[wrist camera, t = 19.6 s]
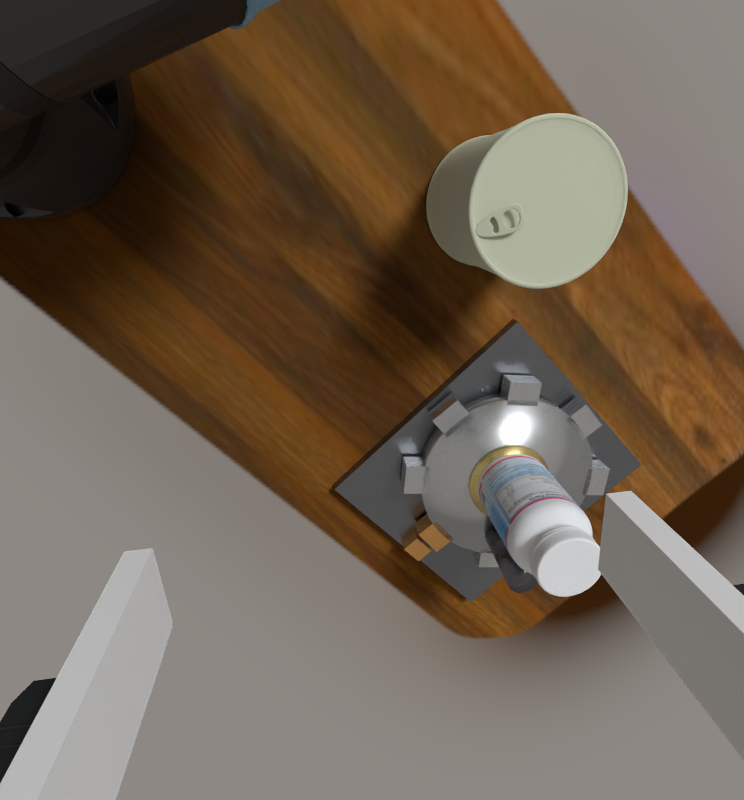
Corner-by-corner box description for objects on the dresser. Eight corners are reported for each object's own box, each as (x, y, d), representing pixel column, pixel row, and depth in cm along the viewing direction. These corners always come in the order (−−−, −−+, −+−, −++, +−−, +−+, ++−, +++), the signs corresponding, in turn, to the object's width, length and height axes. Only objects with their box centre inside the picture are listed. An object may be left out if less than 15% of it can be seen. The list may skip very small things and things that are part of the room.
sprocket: (393, 555, 49) (406, 617, 42) (411, 371, 42) (431, 407, 35) (575, 554, 51) (618, 613, 44) (619, 378, 45) (678, 414, 37)
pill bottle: (532, 517, 46) (596, 610, 36) (467, 507, 45) (513, 601, 35) (555, 456, 44) (630, 536, 34) (488, 444, 43) (544, 524, 33)
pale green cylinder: (410, 161, 38) (449, 147, 27) (530, 116, 38) (621, 82, 27) (444, 282, 41) (492, 314, 30) (555, 242, 41) (644, 258, 30)
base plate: (334, 483, 47) (334, 496, 45) (513, 319, 43) (523, 325, 41) (467, 594, 53) (474, 610, 51) (635, 459, 49) (648, 470, 47)
